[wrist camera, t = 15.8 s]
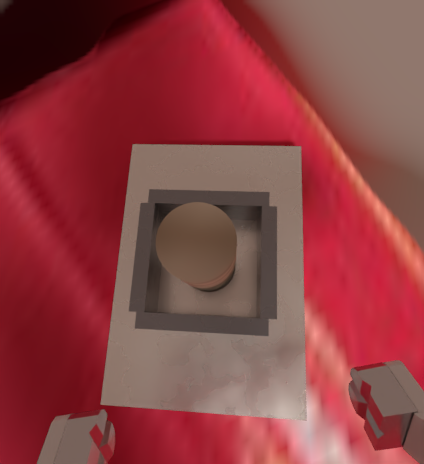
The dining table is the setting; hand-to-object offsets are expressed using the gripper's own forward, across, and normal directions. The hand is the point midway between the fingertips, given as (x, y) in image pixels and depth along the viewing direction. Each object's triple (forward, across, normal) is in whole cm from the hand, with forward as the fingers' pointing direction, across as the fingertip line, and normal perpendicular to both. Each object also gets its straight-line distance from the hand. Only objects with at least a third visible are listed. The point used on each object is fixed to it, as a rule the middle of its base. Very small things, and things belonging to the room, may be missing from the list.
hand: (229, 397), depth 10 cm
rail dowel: (+13, 0, +4) cm, 14 cm away
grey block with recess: (+14, 0, +5) cm, 15 cm away
